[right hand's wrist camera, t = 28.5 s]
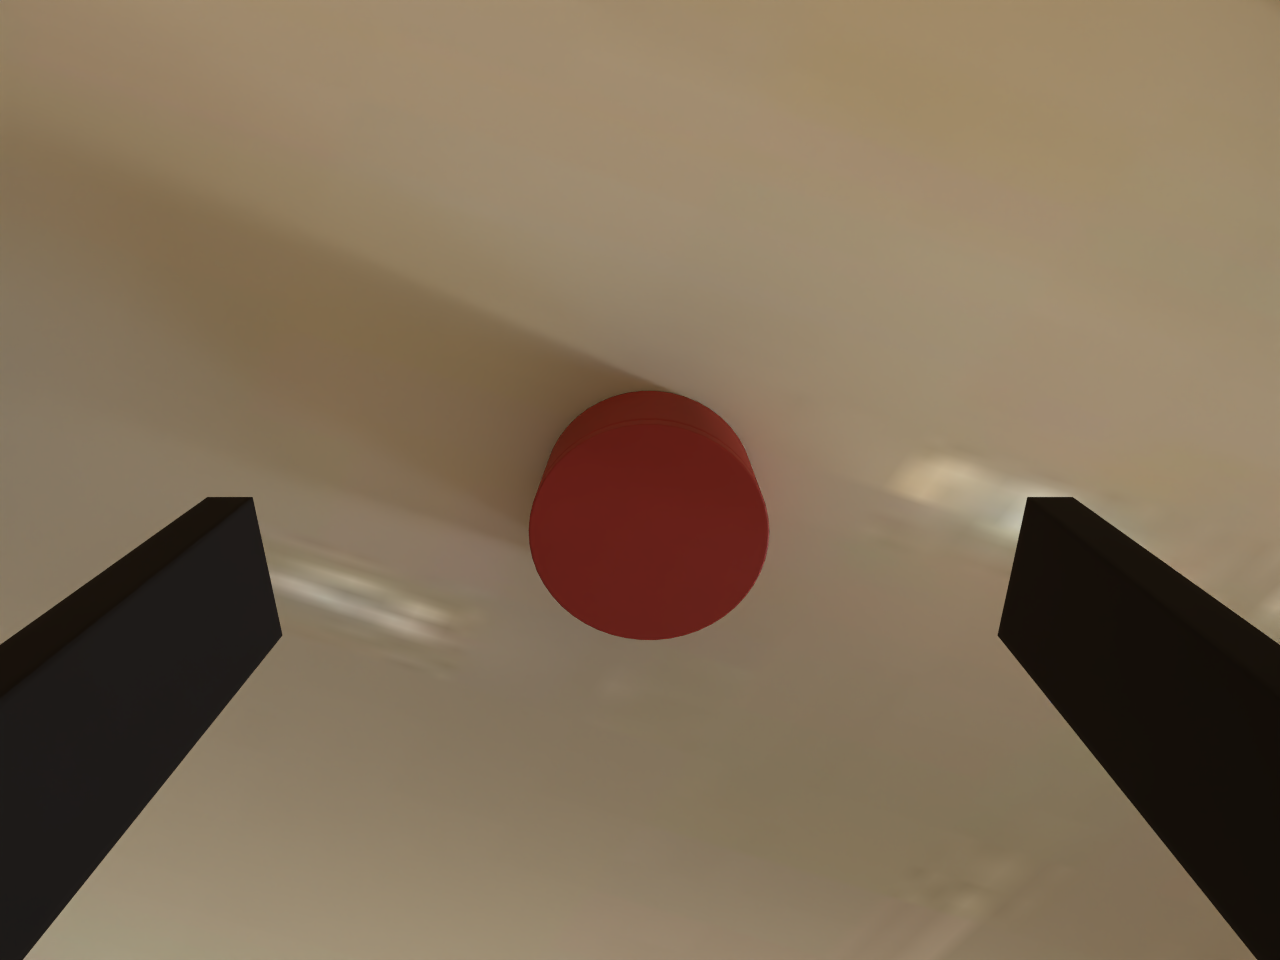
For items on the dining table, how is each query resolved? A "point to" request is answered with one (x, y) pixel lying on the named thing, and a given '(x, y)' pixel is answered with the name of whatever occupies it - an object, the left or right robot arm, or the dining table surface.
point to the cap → (648, 517)
